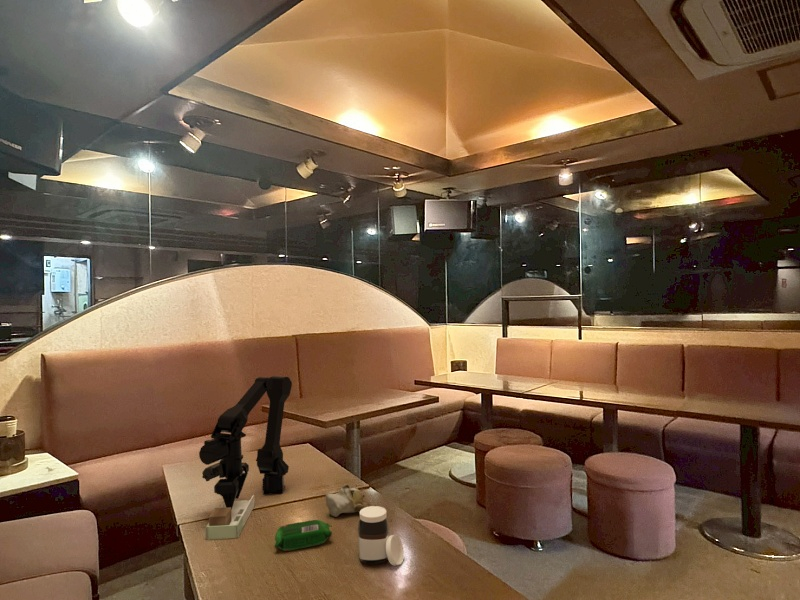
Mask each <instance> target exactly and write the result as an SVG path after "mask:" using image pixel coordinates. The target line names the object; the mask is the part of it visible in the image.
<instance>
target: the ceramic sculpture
mask: <svg viewBox="0 0 800 600" xmlns="http://www.w3.org/2000/svg"><path fill="white" fill-rule="evenodd" d="M365 496H366V495H365V494H363V493H362V492H361V490H359V488H357V487H350V485H348V484H347V485H344V486H342V487H341V488H340V489H339V491H338V492H337V493H330V492H328V493H325V503H326V504H325V505H326V507H327V508H328V512H329V514H330V516H332V517H335V518H337V517H339V515H340V514H354V513H357V512H358V513H360V510H361V509H363V508H365V507H370V506H377V505H376V504H371V503H370V502H367V501H366V502H365V501H363V499H364V498H365Z"/></svg>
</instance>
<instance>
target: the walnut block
mask: <svg viewBox="0 0 800 600" xmlns="http://www.w3.org/2000/svg"><path fill="white" fill-rule="evenodd" d="M231 521H232V519H231V507H228V508H219V507H216V508H214V510H213V511H212V512H211V513H210V515H209V516H208V523H209V526H221V525H230V523H231Z"/></svg>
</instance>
